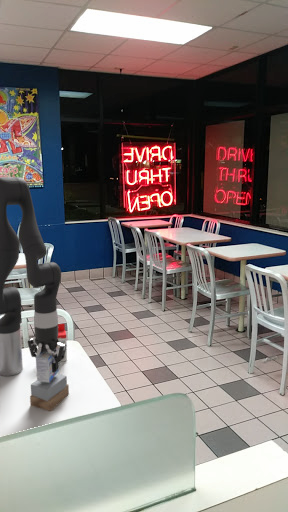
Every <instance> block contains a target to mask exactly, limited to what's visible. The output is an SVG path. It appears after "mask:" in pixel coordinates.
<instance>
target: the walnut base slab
mask: <svg viewBox="0 0 288 512" xmlns="http://www.w3.org/2000/svg"><path fill="white" fill-rule="evenodd" d="M69 386H70V385H69V384H68V383H67V387H65V388H64V389H63V390H61V391H60V392H59V393H58V394H56V395H55V396H54V397H52V398H51V399H50V400H48V401H46V400H43V399H40V398H38V397H35V396H32V395H31V394H30V395H29V399H30V401H29V402H30V407H33V408H38V409H41V410H45V411H48V412H52V411H53V410H54V409H55V408H56V407H57V406H58V405H59V404H60V403H61V402H62V401H63V400H64V399H65V398H66V397H67V396H68V395H69V391H70V390H69Z"/></svg>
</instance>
